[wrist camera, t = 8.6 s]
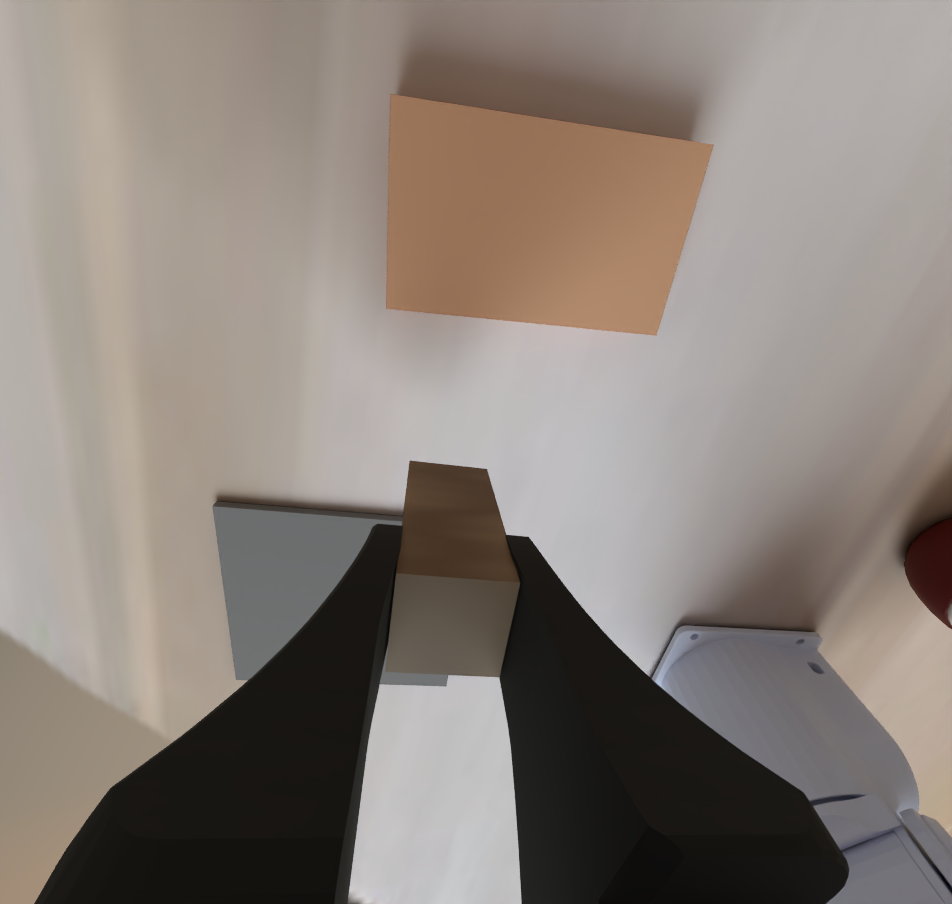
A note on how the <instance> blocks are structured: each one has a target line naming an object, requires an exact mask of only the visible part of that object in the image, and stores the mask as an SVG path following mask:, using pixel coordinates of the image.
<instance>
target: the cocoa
mask: <svg viewBox="0 0 952 904" xmlns="http://www.w3.org/2000/svg"><path fill="white" fill-rule="evenodd" d="M904 567H905V573H906V576H907V578H908V581H909V583H910V586H911V587H912V589H913V590H914V591H915V593H916V594H917V596H918V597H919V598H920V600H921V601H922V602H923V603H924V604H925V605H926V607H927V608H928V609H929V610H930V611H931V612H932V613H933V614H934V615H935V616H936V617H937V618H938V619H940V620H941V621H942V622H943V623H944V624H945V625H946V626H948V627H949V628H951V629H952V518H950V519H948V520H945V521H942V522H939V523H937V524H934V525H933V526H931V527H930V528H928V529H927V530H925V531H924V532H922V533H921V534H920V535H919V536H918V537H917V538H916V539H915V541H914V542H913V543H912V544H911V546H910V548H909V550H908V553H907V556H906V559H905V562H904Z"/></svg>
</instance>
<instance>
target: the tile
mask: <svg viewBox="0 0 952 904" xmlns="http://www.w3.org/2000/svg"><path fill="white" fill-rule="evenodd" d="M713 146H714V145H712V144H705V143H699V142H693V141H686V140H680V139H674V138H667V137H661V136H654V135H648V134H642V133H635V132H629V131H623V130H616V129H610V128H604V127H597V126H591V125H585V124H578V123H572V122H565V121H559V120H553V119H546V118H540V117H534V116H527V115H521V114H515V113H508V112H502V111H496V110H489V109H483V108H476V107H470V106H464V105H457V104H451V103H445V102H438V101H432V100H426V99H419V98H413V97H406V96H400V95H394V94H390V139H389V190H388V240H387V291H386V309H395V310H405V311H415V312H425V313H435V314H445V315H455V316H465V317H476V318H486V319H496V320H506V321H516V322H526V323H536V324H546V325H556V326H566V327H576V328H586V329H596V330H606V331H616V332H626V333H636V334H646V335H657V332H658V328H659V325H660V322H661V318H662V315H663V312H664V308H665V305H666V302H667V298H668V295H669V292H670V288H671V285H672V282H673V278H674V275H675V272H676V268H677V265H678V262H679V259H680V255H681V252H682V249H683V245H684V242H685V239H686V235H687V232H688V229H689V225H690V222H691V219H692V215H693V212H694V209H695V205H696V202H697V199H698V195H699V192H700V189H701V185H702V182H703V179H704V175H705V172H706V169H707V165H708V162H709V159H710V155H711V152H712V149H713Z"/></svg>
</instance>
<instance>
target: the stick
mask: <svg viewBox="0 0 952 904" xmlns="http://www.w3.org/2000/svg"><path fill="white" fill-rule="evenodd" d="M402 526H403V531H402V539H401V548H400V553H399V556H398V562H397V570H396V578H395V587H394V596H393V605H392V614H391V623H390V632H389V641H388V650H387V659H386V668H385V672H395V673H418V674H440V675H463V676H486V677H500V673H501V668H502V664H503V659H504V655H505V650H506V645H507V641H508V636H509V632H510V627H511V623H512V618H513V614H514V609H515V605H516V600H517V596H518V591H519V587H520V580H519V576H518V573H517V569H516V567H515V565H514V562H513V560H512V557H511V554H510V550H509V547H508V544H507V540H506V537H505V535H506V532H505V529H504V526H503V522H502V519H501V515H500V512H499V509H498V505H497V502H496V499H495V495H494V492H493V488H492V485H491V482H490V478H489V475H488V472H487V469H481V468H472V467H463V466H453V465H444V464H435V463H426V462H417V461H410V463H409V471H408V479H407V488H406V496H405V504H404V512H403V521H402Z"/></svg>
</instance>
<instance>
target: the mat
mask: <svg viewBox="0 0 952 904" xmlns="http://www.w3.org/2000/svg"><path fill="white" fill-rule="evenodd" d="M213 512H214V520H215V527H216V535H217V542H218V549H219V557H220V564H221V572H222V579H223V586H224V594H225V601H226V609H227V616H228V623H229V631H230V638H231V646H232V653H233V660H234V668H235V675H236V680H249V679H250V678H251V677H253V676H254V675H255V674H256V673H257V672H258V671H259V670H260V669H261V668H262V667H263V666H264V665H265V664H266V663H267V662H268V661H269V660H270V659H271V658H273V657H274V656H275V655H276V654H277V653H278V652H279V651H280V650H281V649H282V648H283V647H284V646H285V645H286V644H287V643H288V642H289V641H290V639H291V638H292V637H293V636H294V635H295V634H296V633H297V632H298V631H299V630H300V629H301V628H302V627H303V626H304V624H305V623H306V622H307V621H308V620H309V619H310V618H311V616H312V615H313V614H314V613H315V612H316V611H317V609H318V608H319V607H320V606H321V604H322V603H323V602H324V601H325V599H326V598H327V597H328V596H329V594H330V593H331V592H332V591H333V589H334V588H335V587H336V586H337V584H338V583H339V581H340V580H341V579H342V577H343V576H344V574H345V573H346V571H347V570H348V569H349V567H350V566H351V564H352V563H353V561H354V560H355V558H356V557H357V555H358V553H359V552H360V550H361V549H362V547H363V545H364V543H365V542H366V540H367V538H368V536H369V534H370V531H371V529H372V527H373V526H375V525H376V524H388V525H399V526H402V521H403V516H391V515H379V514H367V513H354V512H342V511H330V510H318V509H305V508H293V507H281V506H268V505H256V504H244V503H232V502H219V501H216V503H215V504H214V505H213ZM387 650H388V647H387ZM386 659H387V652H386V656H385V661H384V666H383V670H382V675H381V680H380V684H389V685H421V686H446V684H447V679H448V675H440V674H418V673H395V672H385V668H386Z"/></svg>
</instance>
